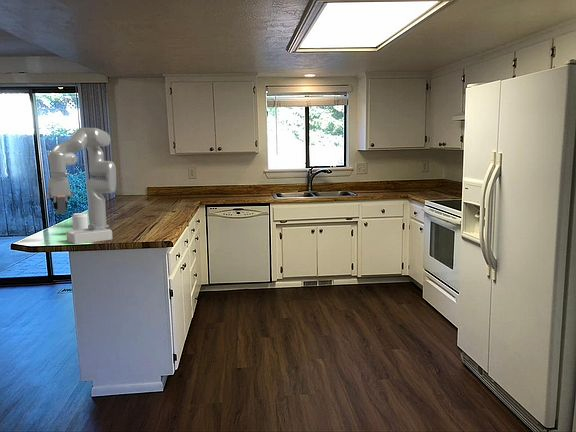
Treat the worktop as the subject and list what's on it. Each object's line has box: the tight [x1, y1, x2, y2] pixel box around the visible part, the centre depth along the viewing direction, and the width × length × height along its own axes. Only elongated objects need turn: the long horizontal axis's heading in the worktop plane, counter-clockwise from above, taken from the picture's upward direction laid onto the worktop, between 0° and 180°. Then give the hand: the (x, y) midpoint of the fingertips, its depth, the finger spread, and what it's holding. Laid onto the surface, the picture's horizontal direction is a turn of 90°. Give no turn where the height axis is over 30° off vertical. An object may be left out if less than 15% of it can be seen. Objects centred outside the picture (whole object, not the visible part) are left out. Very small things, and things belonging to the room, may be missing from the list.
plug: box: [54, 195, 67, 215], centre depth 245 cm, size 5×4×12 cm
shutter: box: [89, 223, 105, 231], centre depth 252 cm, size 7×7×3 cm
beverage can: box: [71, 212, 89, 230], centre depth 266 cm, size 8×8×12 cm
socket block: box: [66, 227, 113, 245], centre depth 249 cm, size 12×20×6 cm, turn 134°
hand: (60, 208), depth 246 cm, fingers closed on plug, 4 cm apart
